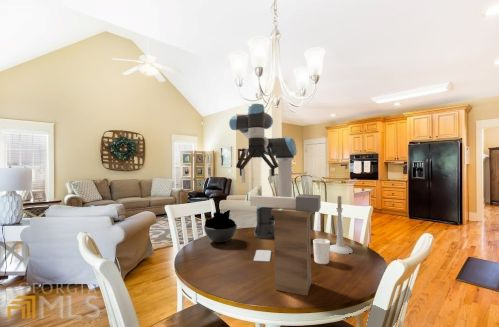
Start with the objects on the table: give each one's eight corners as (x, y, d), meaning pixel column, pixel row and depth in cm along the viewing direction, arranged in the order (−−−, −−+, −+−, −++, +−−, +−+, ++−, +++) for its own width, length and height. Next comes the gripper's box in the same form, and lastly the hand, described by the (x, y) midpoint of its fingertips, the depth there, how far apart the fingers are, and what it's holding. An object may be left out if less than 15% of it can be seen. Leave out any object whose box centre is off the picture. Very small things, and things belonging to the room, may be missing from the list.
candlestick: (323, 250, 135) (322, 195, 135) (335, 244, 143) (334, 193, 143) (345, 256, 125) (344, 197, 125) (357, 250, 133) (356, 195, 134)
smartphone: (253, 260, 119) (256, 249, 134) (253, 262, 119) (256, 251, 134) (270, 261, 118) (271, 250, 133) (270, 263, 118) (271, 252, 133)
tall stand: (279, 276, 102) (279, 204, 103) (313, 282, 97) (313, 206, 98) (271, 290, 91) (270, 209, 92) (309, 297, 86) (309, 211, 87)
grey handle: (255, 203, 105) (255, 192, 105) (320, 208, 95) (320, 195, 95) (247, 207, 97) (247, 194, 97) (318, 212, 87) (318, 198, 87)
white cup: (318, 257, 124) (318, 237, 124) (333, 261, 118) (332, 240, 118) (310, 261, 118) (309, 240, 119) (325, 266, 113) (324, 244, 113)
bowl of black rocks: (207, 248, 138) (206, 215, 138) (202, 238, 157) (201, 209, 157) (240, 244, 145) (240, 212, 145) (232, 235, 164) (232, 207, 164)
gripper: (228, 138, 115) (229, 183, 115) (280, 135, 106) (281, 184, 106) (235, 139, 122) (235, 182, 122) (284, 137, 113) (285, 182, 113)
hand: (256, 183), depth 114 cm, fingers open, 13 cm apart
